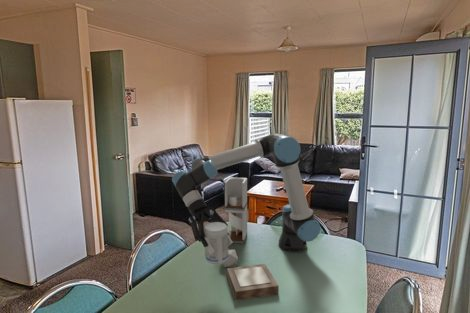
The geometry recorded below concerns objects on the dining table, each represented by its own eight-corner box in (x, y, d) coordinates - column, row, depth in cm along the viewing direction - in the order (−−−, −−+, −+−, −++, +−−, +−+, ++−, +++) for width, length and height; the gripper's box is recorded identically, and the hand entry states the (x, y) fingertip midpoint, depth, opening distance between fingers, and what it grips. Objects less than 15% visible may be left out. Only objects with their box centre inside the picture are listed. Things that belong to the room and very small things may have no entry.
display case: (229, 233, 188) (229, 177, 182) (247, 235, 186) (247, 178, 179) (225, 241, 177) (224, 182, 171) (244, 243, 175) (243, 183, 168)
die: (232, 273, 145) (242, 255, 147) (216, 263, 146) (227, 245, 148) (232, 270, 153) (242, 253, 155) (217, 261, 154) (227, 244, 156)
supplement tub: (222, 251, 136) (222, 220, 133) (232, 261, 127) (231, 228, 125) (201, 257, 132) (200, 224, 129) (210, 267, 123) (209, 232, 121)
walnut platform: (265, 271, 146) (265, 263, 145) (278, 294, 128) (278, 285, 128) (227, 276, 142) (227, 267, 141) (235, 300, 125) (235, 291, 124)
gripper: (209, 201, 144) (235, 243, 137) (170, 214, 128) (196, 262, 121) (217, 192, 140) (244, 235, 132) (177, 205, 124) (205, 254, 116)
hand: (221, 248), depth 126 cm, fingers closed on supplement tub, 10 cm apart
